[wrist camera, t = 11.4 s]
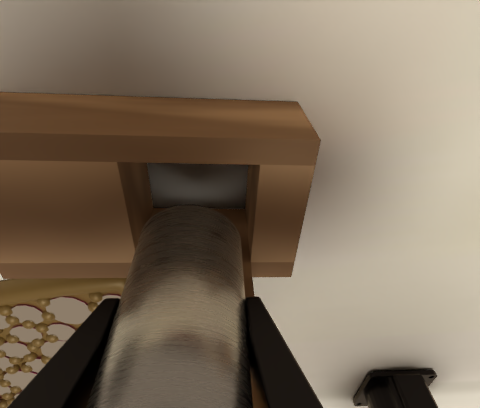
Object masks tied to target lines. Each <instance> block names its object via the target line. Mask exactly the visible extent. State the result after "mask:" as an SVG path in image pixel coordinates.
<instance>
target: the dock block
mask: <svg viewBox="0 0 480 408" xmlns="http://www.w3.org/2000/svg"><path fill="white" fill-rule="evenodd" d="M320 141H321V140H320V138H319V136H318V135H317V133H316V131H315V130H314V128H313V126H312V125H311V123H310V122H309V120H308V118H307V117H306V115H305V113H304V112H303V110H302V108H301V107H300V105H299V103H298V102H286V101H255V100H225V99H194V98H164V97H133V96H102V95H72V94H41V93H11V92H0V274H1V275H2V277H3V279H46V278H127V276H128V273H129V269H130V266H131V263H132V260H133V257H134V253H135V250H136V247H137V244H138V241H139V237H140V234H141V231H142V229H143V227H144V225H145V224H146V222H147V221H148V220H149V219H150V218H151V217H152V216H153V215H155V214H156V213H158V212H160V211H162V210H164V209H167V208H153V202H152V195H151V188H150V181H149V174H148V167H147V163H191V164H246V165H248V175H247V189H246V203H245V209H213V210H215V211H217V212H219V213H221V214H223V215H224V216H226V217H227V218H228V219H229V220H230V221H232V223H233V224H234V225H235V226H236V228H237V230H238V232H239V234H240V238H241V247H242V261H243V275H244V289H245V298H246V297H254V289H253V280H252V277H291V275H292V271H293V266H294V261H295V257H296V252H297V248H298V243H299V238H300V234H301V229H302V224H303V220H304V215H305V211H306V206H307V201H308V197H309V192H310V188H311V183H312V178H313V174H314V169H315V164H316V160H317V155H318V151H319V146H320Z"/></svg>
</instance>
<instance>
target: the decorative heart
mask: <svg viewBox="0 0 480 408" xmlns="http://www.w3.org/2000/svg"><path fill="white" fill-rule="evenodd" d="M126 279H127V278H46V279H8V280H2V281H0V408H7V407H8V406H9V405H10V404H11V403H12V401H13V400H14V399H15V398H16V397H17V396H18V395H19V394H20V392H21V391H22V390H23V389H24V388H25V387H26V386H27V385H28V384H29V382H30V381H31V380H32V379H33V378H34V377H35V376H36V375H37V373H38V372H39V371H40V370H41V369H42V368H43V367H44V366H45V365H46V363H47V362H48V361H49V360H50V359H51V358H52V357H53V356H54V354H55V353H56V352H57V351H58V350H59V349H60V348H61V347H62V346H63V344H64V343H65V342H66V341H67V340H68V339H69V338H70V337H71V336H72V334H73V333H74V332H75V331H76V330H77V329H78V328H79V327H80V325H81V324H82V323H83V322H84V321H85V320H86V319H87V318H88V317H89V315H90V314H91V313H92V312H93V311H94V310H95V309H96V308H97V306H98V305H99V304H100V303H101V302H102V301H103V300H104V299H106V298H119V299H120V298H121V295H122V292H123V289H124V285H125V282H126Z"/></svg>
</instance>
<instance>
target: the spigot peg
mask: <svg viewBox="0 0 480 408" xmlns="http://www.w3.org/2000/svg"><path fill="white" fill-rule="evenodd" d="M86 408H253V400H252V386H251V372H250V358H249V345H248V332H247V318H246V305H245V289H244V275H243V261H242V247H241V238H240V234H239V232H238V230H237V228H236V226H235V225H234V224H233V223H232V221H230V220H229V219H228V218H227V217H226V216H224V215H223V214H221V213H219V212H217V211H215V210H213V209H210V208H207V207H203V206H197V205H179V206H174V207H170V208H167V209H164V210H162V211H160V212H158V213H156V214H155V215H153V216H152V217H151V218H150V219H149V220H148V221H147V222H146V224H145V225H144V227H143V229H142V231H141V234H140V237H139V241H138V244H137V247H136V250H135V253H134V257H133V260H132V263H131V266H130V269H129V273H128V276H127V279H126V282H125V285H124V289H123V292H122V295H121V298H120V302H119V305H118V308H117V311H116V314H115V318H114V321H113V324H112V327H111V330H110V334H109V337H108V340H107V343H106V346H105V350H104V353H103V356H102V359H101V362H100V366H99V369H98V372H97V375H96V378H95V382H94V385H93V388H92V391H91V394H90V398H89V401H88V404H87V407H86Z"/></svg>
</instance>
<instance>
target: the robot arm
mask: <svg viewBox="0 0 480 408" xmlns="http://www.w3.org/2000/svg"><path fill="white" fill-rule="evenodd" d="M119 302H120V299H119V298H106V299H104V300H103V301H102V302H101V303H100V304H99V305H98V306H97V308H96V309H95V310H94V311H93V312H92V313H91V314H90V315H89V317H88V318H87V319H86V320H85V321H84V322H83V323H82V324H81V325H80V327H79V328H78V329H77V330H76V331H75V332H74V333H73V334H72V336H71V337H70V338H69V339H68V340H67V341H66V342H65V343H64V344H63V346H62V347H61V348H60V349H59V350H58V351H57V352H56V353H55V354H54V356H53V357H52V358H51V359H50V360H49V361H48V362H47V363H46V365H45V366H44V367H43V368H42V369H41V370H40V371H39V372H38V373H37V375H36V376H35V377H34V378H33V379H32V380H31V381H30V382H29V384H28V385H27V386H26V387H25V388H24V389H23V390H22V391H21V392H20V394H19V395H18V396H17V397H16V398H15V399H14V400H13V401H12V403H11V404H10V405H9V406H8V407H7V408H86V407H87V404H88V401H89V398H90V394H91V391H92V388H93V385H94V382H95V378H96V375H97V372H98V369H99V366H100V362H101V359H102V356H103V353H104V350H105V346H106V343H107V340H108V337H109V334H110V330H111V327H112V324H113V321H114V318H115V314H116V311H117V308H118V305H119ZM245 305H246V318H247V332H248V345H249V358H250V372H251V386H252V400H253V408H323V406H322V405H321V403H320V401H319V399H318V398H317V396H316V394H315V393H314V391H313V389H312V387H311V386H310V384H309V382H308V380H307V379H306V377H305V375H304V373H303V372H302V370H301V368H300V366H299V365H298V363H297V361H296V360H295V358H294V356H293V354H292V353H291V351H290V349H289V347H288V346H287V344H286V342H285V340H284V339H283V337H282V335H281V334H280V332H279V330H278V328H277V327H276V325H275V323H274V321H273V320H272V318H271V316H270V314H269V313H268V311H267V309H266V308H265V306H264V304H263V302H262V301H261V299H260V298H259V297H246V298H245ZM436 377H437V375H436V373H435V371H434V370H419V371H384V372H371V373H369V374H368V376H367V378H366V379H365V381H364V383H363V384H362V386H361V388H360V389H359V391H358V393H357V394H356V396H355V398H354V399H353V403H354V405H355V406H368V408H438V406H437V404H436V402H435V400H434V398H433V396H432V394H431V392H430V390H429V388H428V386H429V385H430V384H431V383H432V382H433V381H434V379H435V378H436Z"/></svg>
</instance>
